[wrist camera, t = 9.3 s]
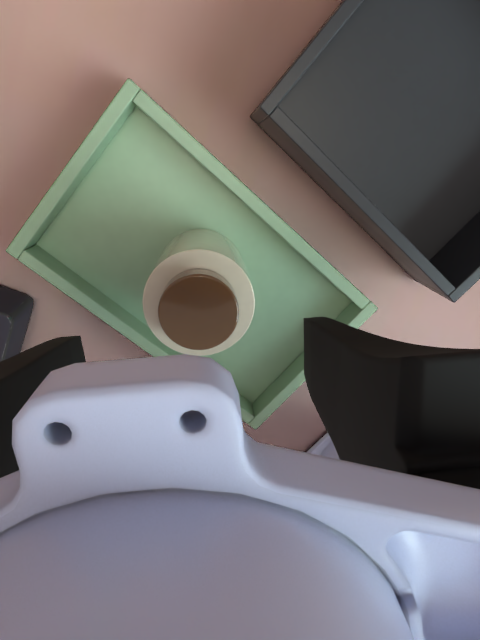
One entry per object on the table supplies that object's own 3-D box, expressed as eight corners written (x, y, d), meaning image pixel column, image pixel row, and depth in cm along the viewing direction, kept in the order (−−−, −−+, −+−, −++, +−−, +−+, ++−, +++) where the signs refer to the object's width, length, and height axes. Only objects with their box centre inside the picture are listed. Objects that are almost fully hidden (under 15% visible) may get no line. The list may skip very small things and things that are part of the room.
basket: (604, 93, 20) (692, 79, 16) (415, 280, 23) (454, 303, 19) (450, -134, 17) (518, -215, 13) (249, 116, 19) (259, 106, 16)
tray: (365, 297, 23) (378, 308, 21) (252, 411, 25) (255, 430, 23) (135, 85, 19) (128, 77, 17) (22, 243, 21) (4, 251, 19)
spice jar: (262, 267, 22) (282, 307, 16) (206, 329, 23) (206, 387, 17) (195, 209, 20) (189, 228, 15) (139, 277, 21) (113, 321, 16)
